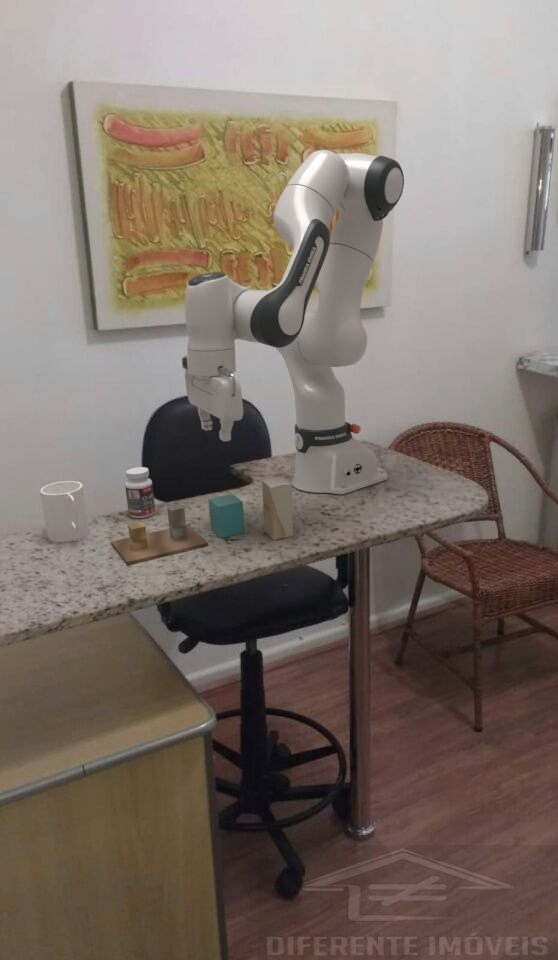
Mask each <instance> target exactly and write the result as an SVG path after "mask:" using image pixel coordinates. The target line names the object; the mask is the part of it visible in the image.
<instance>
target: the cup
mask: <svg viewBox="0 0 558 960" xmlns="http://www.w3.org/2000/svg"><path fill="white" fill-rule="evenodd" d="M40 498H41V504H42V509H43V516H44V520H45V528H46V532H47V539H48V540H49V541H52V542H55V543H69V542H73V541H77V540H80V539H83V538H84V537H86V536H87V535H89V533H90V527H89V521H88V514H87V507H86V506H87V505H86V499H85V494H84V486H83V483H81V482H79V481H76V480H75V481H73V480H64V481H63V480H61V481H57V482H53V483H50V484H47V485H45V486H43V487H42V488H41V489H40Z"/></svg>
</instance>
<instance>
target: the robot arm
mask: <svg viewBox="0 0 558 960" xmlns="http://www.w3.org/2000/svg"><path fill="white" fill-rule="evenodd" d="M404 185H405V176H404V172H403V169H402V166H401V165H400V163H399V162H398V161H397V160H395V159H393V158H391V157H387V156H385V155H378V156H377V155H374V154H368V153H363V152H352V153H351V152H350V153H349V152H348V153H347V152H345V153H344V152H343V153H342V152H341V153H336V152H334V151H331V150H328V149H320V150H319V149H318V150H315V151H313V152H312V153H310V154H309V155H308V156H307V158H305V160H303V162H302V163H301V164H300V165H299V167H298V168H297V170H295V172H294V173H293V175H292V176H291V178H290V180H289V181H288V182H287V184H286V186H285V187H284V190H283V191H282V193H281V195H280V196H279V199H278V200H277V202H276V205H275V207H274V211H273V222H274V223H273V224H274V227H275V229H276V232H277V233H278V235H279V237H281V238H282V240H283V241H284V242H285V243H286V244H287V245H289V246H290V247H291V248H293V251H292V253H291V256H290V259H289V261H288V264H287V266H286V269H285V271H284V274H283V276H282V278H281V281H280V282H279V284H278V285H276V286H275V287H273V288H272V289H271V288H270V289H268V290H265V289H264V290H261V289H260V290H259V289H254V288H253V289H251V288H248V287H245V286H243V285H241V284H239V283H237V282H235V281H234V280H233V279H231V278H230V277H229V276H228V274H227V273H225V272H219V271H215V272H210V273H202V274H198V275H196V276H194V277H192V278H191V279H190V280H188V282H187V284H186V288H185V292H184V317H185V327H186V329H187V333H188V341H187V346H186V347H187V348H186V349H187V354H186V355H184V356H182V358H181V367H182V369H184V381H185V387H186V395H187V398H188V402H189V403H190V404H191V405H193V406H194V407H197V412H198V416H199V419H200V424H201V425H200V426H201V429H202V430H204V431H212V429H213V421H212V420H211V419H212V418H211V415H212V416H214V417H216V418H218V419H219V424H220V430H219V431H218V435H219V440H221V441H222V442H230V441H231V440H232V430H233V426H234V422H235V421H236V422H237V421H241V420H242V419H243V417H244V405H243V396H242V395H243V394H242V388H241V383H240V381H239V379H238V378H236V377H235V376H234V373H235V372H237V368H236V367H237V365H236V343H235V341H236V340H241V341H246V342H252V343H258V344H262V345H266V346H269V347H272V348H276V350H277V351H278V352H279V354H280V355H281V357H282V359H283V360H284V363H285V365H286V367H287V371H288V373H289V376H290V377H289V378H290V380H291V383H292V387H293V393H294V402H295V405H294V406H295V417H296V419H295V420H296V423H295V424H294V444H295V450H296V458H295V459H296V460H295V467H294V473H293V477H292V478H293V479H292V481H291V486H293V487H294V488H295V489H297V490H300V491H304V492H308V493H316V494H317V493H318V494H321V493H322V494H325V493H326V494H336V495H345V494H349V493H351V492H354V491H357V490H360V489H363V488H365V487H369V486H371V485H375V484H377V483H381V482H383V481H386V480H388V473H387V471H385V470H384V469H383V468H381V467H379V466H378V462H377V457H376V454H375V453H374V451H373V450H372V449H370V448H369V447H368V446H366V445H365V444H364V443H362V442H360V441H359V439H356V438H355V437H353V434H352V433H354V434H360V432H361V426H360V425H358V424H356V423H352V424H351V423H349V422H347V421H346V410H345V409H346V405H345V404H346V403H345V400H346V399H345V390H344V387H343V386H342V384H341V383H340V381H339V380H338V379H337V377H336V376H335V373H334V370H333V368H338V367H339V368H341V367H347V366H348V367H349V366H353V365H356V364H358V362H360V360H361V359H362V358H363V356H365V353H366V350H367V347H368V336H367V331H366V329H365V328H364V326H363V324H362V321H361V319H362V318H361V305H362V297H363V295H364V290H365V287H366V285H367V282H368V278H369V275H370V273H371V270H372V267H373V265H374V261H375V258H376V256H377V253H378V250H379V247H380V242H381V237H382V232H383V227H384V220H383V219H385V218H386V217H387V216H388V215H389V213H390V212H392V210H393V209H394V208H395V207H396V205H397V204H398V202H399V201H400V199H401V197H402V195H403V191H404ZM338 210H339V213H338V214H339V216H338V219H337V220H336V222H335V224H334V226H333V228H332V230H331V231H329V228H330V226H331V223H332V221H333V219H334V217H335V216H336V213H337V212H338ZM330 232H331V233H330ZM314 287H315V288H316V289H317V290H318V306H317V308H316V310H315V312H314V311H307V308H308V304H309V301H310V298H311V295H312V293H313V291H314Z"/></svg>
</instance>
